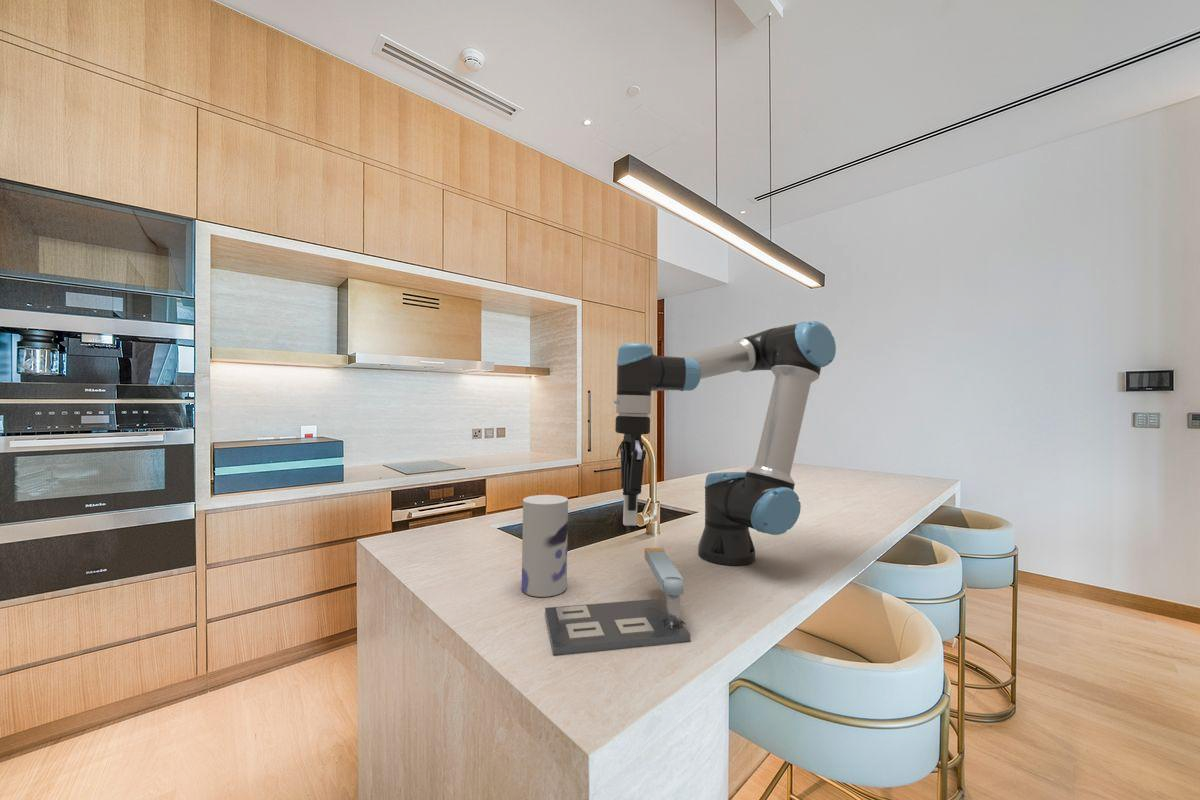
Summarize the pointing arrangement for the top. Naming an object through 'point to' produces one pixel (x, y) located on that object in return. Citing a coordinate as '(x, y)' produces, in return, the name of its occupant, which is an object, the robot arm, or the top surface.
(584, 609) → the slotted grey board
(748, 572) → the top surface
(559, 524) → the container
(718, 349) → the robot arm
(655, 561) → the grey long bar
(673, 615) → the post
